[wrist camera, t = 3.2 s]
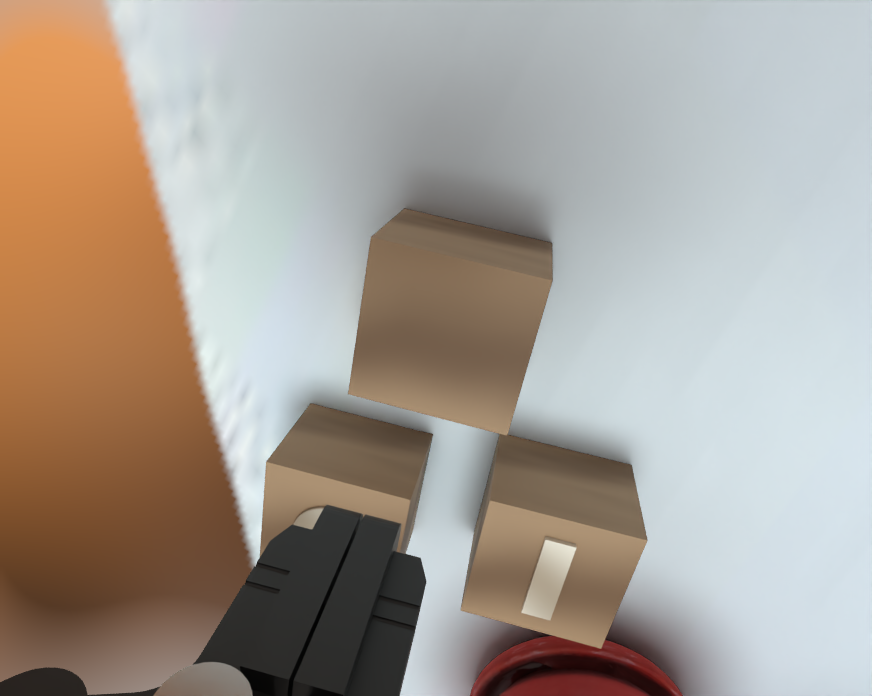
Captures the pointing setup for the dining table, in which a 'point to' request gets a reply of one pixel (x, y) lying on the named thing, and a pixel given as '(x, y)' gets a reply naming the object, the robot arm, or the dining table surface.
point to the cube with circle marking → (344, 472)
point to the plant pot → (572, 671)
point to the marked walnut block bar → (554, 541)
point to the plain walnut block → (449, 318)
